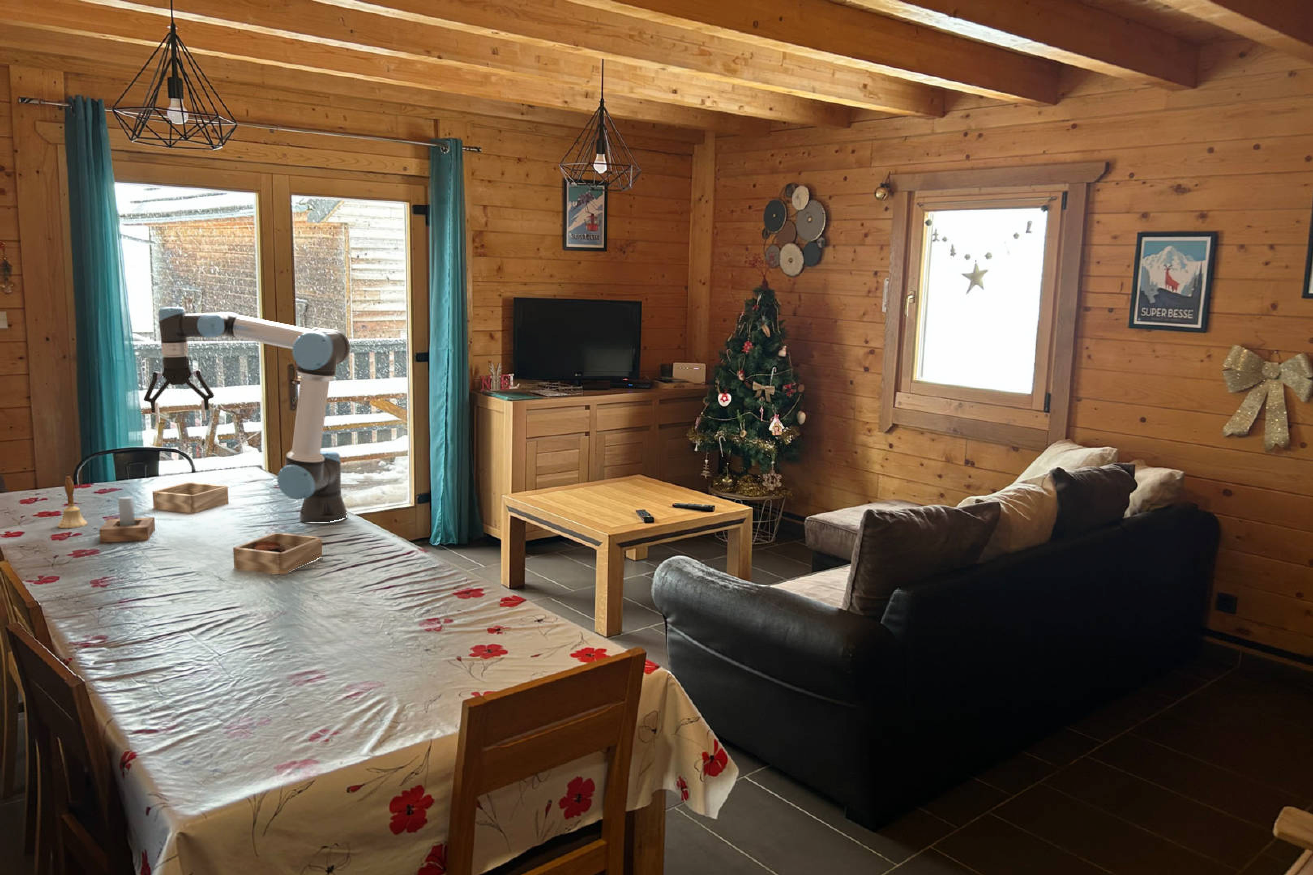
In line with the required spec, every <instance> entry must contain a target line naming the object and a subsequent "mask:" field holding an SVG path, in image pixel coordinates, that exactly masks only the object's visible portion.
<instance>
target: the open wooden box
mask: <svg viewBox="0 0 1313 875" xmlns="http://www.w3.org/2000/svg"><path fill="white" fill-rule="evenodd" d="M261 541H272V542H277V543H279V544H280V545H281V546H280V547H283V548H285V550H286V551H284V552H282V553H280V552H271V551H263V550H254V549H251V548H253V545H252V544H253V543H255V542H261ZM232 554H233V569H235V570H236V569H237V571H243V570H246V571H245V572H251V571H253V573H259V572H261V574H267V573H269V575H275V574H280V575H282V574H285V575H287V574H289V573H288V572H289V571H291V570H293V569H296V568H298V567H300V566H302V565H305V564H307V563H309V562H311V561H314V560H316V559H317V558H319V557H321V556H322V557H323V538H322V537H319V536H311V535H304V534H302V535H301V534H293V533H286V532H284V533H283V532H272V533H269V534H267V535H264V536H261V537H259V538H256V539H254V540H251V541H248V542H245V543H242V544H240V545H236V546H234V547H233V551H232ZM286 573H287V574H286Z"/></svg>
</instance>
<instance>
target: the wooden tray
mask: <svg viewBox="0 0 1313 875" xmlns="http://www.w3.org/2000/svg"><path fill="white" fill-rule="evenodd" d="M226 504H229V487H228V486H227V485H221V484H210V483H200V482H185V483H181V484H176V485H173V486H169V487H164V488H160V489H157V490H152V505H153V509H154V510H159V511H168V512H176V513H177V512H178V513H187V514H196V513H200V512H203V511H206V510H210V509H212V508H213V509H214V508H216V507H220V506H223V505H226Z"/></svg>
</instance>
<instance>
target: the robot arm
mask: <svg viewBox="0 0 1313 875" xmlns="http://www.w3.org/2000/svg"><path fill="white" fill-rule="evenodd" d="M158 326H159V332H160V333H159V334H160V343H161V344H160V345H161V346H160V347H161V355H162V356H163V357H162V365H163V371H162V372H161V371H156V370H155V371H154V372H153V373H152V380H151V382H150V384H149V386H148V388H147V391H146V394H145V395H144V398H143V401H144V402H148V403H149V404H150V407H151V408H150V410H151V413H152V414H153V413H154V414H155V423H156V424H160V423H161V418H160V415H161V414H160V406H159V405H160V404H159V401H157V400H158V398H159V397H160V396H161V395H162V393H163V392H164V391H165V390H166V389H167V387H169V385H172V386H176V385H179V386H183V385H185V384H186V385H187V386H188V387H190V388H191V389H192V390H193V391H194V392H195V393H196V394H197V395H198V396H199V397H200V398H202V400H200V401H201V411H202V421H207V411H208V410H209V409H210V404H209V400H211V399H212V398H214V396H215V395H214V393H213V392H214V391H213V390H211V387H209V385H208V384H207V382H206V380H205V379H204V378H203V374H202V371H201V369H196V370H191V369H190V360H189V359H190V358H189V356H188V354H189V346H188V338H207V339H211V338H212V339H213V338H218V337H220V336H221V337H223V336H225V337H226V336H227V337H231V338H235V339H236V338H237V339H242V340H246V341H251V342H255V343H262V344H266V345H271V346H274V347H275V346H276V347H280V348H284V349H285V348H286V349H290V350H291V351H292V353H291V354H292V358H293V360H294V361H295V363H296V373H297V374H298V375H299V377H300V381H299V390H298V397H297V406H296V413H295V414H296V415H295V422H294V429H293V430H294V431H293V440H292V447H291V450H290V451H288V452H287V453H286V455H285V461H284V462H285V463H284V466H283V467H281V469H280V470H279V472H278V473H277V477H276V478H277V480H276V481H277V486H278V488H279V490H280V491H281V492H282V493H283V495H284V496H285V497H288V498H289V499H292V500H303V501H302V505H301V509H300V512H299V521H300V520H301V521H300V522H302V521H303V522H302V523H304V522H330V521H334V520H339V519H342V518H346V515H347V516H348V510H347V509H346V505H345V502H344V500H343V497H342V496H343V495H342V486H341V485H342V479H341V478H342V473H341V470H342V469H341V464H342V462H341V456H340V454H339V453H338V452H335V451H323V450H321V449H322V440H323V432H324V426H325V418H326V412H327V411H326V410H327V402H328V394H329V386H330V380H332V378H334V377H336V370H337V365H339V364H342V363H343V362H344V361H346V359H347V358H348V357H349V354H350V351H351V344H350V341H349V339H348V337H347V336H346V335H345V333H343V332H341V331H340V330H337V329H334V328H332V329H331V328H322V327H317V326H315V327H313V328H312V329H311V328H305V327H300V326H295V325H292V324H291V325H290V324H285V323H280V322H276V321H270V320H267V319H266V320H265V319H261V318H255V317H251V316H245V315H241V314H238V313H236V312H233V311H221V312H205V313H204V312H203V313H202V312H201V313H200V312H199V313H187V312H185V309H184V307H182V306H166V307H160V308H159V309H158ZM192 375H193V376H194V377H195V378H197V380H198V381H199V384H201V386H202V388H203V389H204V390H205V392H206V393H205V392H204V391H203V390H201V389H200V387H199V386H198V385H196V384H195V383H194V382H193V381H192V380H191V379H190V378H191V376H192ZM162 377H163V378H164V379H165V381H164V383H163V384H161V387H160V388H159V389H158V391H156V392H155V393H154V395H153V397H151V395H152V394H153V391H154V389H155V386H156V384H157V383H158V380H159V379H161V378H162ZM346 512H347V513H346ZM346 519H347V518H346Z"/></svg>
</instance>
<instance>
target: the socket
mask: <svg viewBox="0 0 1313 875" xmlns="http://www.w3.org/2000/svg"><path fill="white" fill-rule="evenodd" d="M134 518H135V526H120V518H108V519H107V520H106V521H105V522H104V524H103V525H102V526H101V527H100V528H99V531H98V532H99V533H98V534H99V543H113V542H114V543H117V542H134V541H149V540H150V537H152V536H153V533H154V532H155V531H156V522H155V516H152V517H151V516H150V517H147V516H146V517H134Z"/></svg>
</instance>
